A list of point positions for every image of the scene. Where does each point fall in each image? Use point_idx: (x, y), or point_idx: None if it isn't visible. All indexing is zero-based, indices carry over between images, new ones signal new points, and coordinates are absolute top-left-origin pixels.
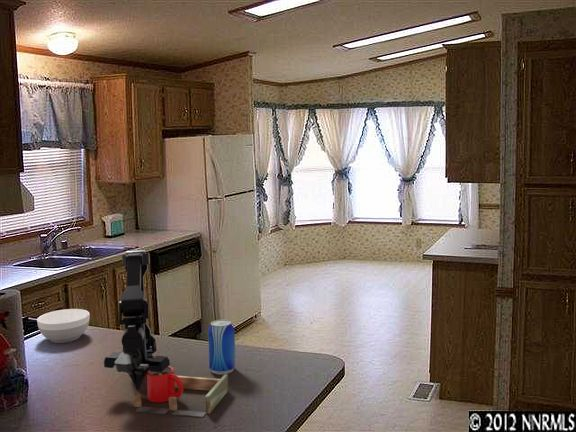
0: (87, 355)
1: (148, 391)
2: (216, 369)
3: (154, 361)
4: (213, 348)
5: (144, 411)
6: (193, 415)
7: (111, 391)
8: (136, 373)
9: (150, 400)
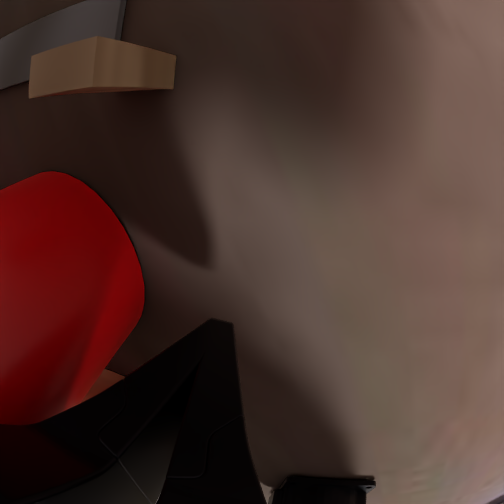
0: (488, 494)
1: (50, 231)
2: None
3: None
4: None
5: (63, 10)
6: None
7: (468, 348)
8: (47, 468)
9: (83, 186)
